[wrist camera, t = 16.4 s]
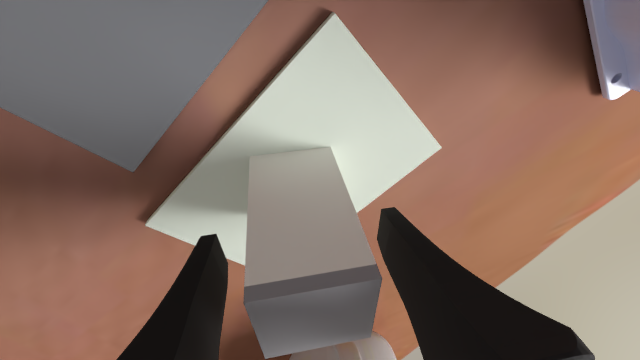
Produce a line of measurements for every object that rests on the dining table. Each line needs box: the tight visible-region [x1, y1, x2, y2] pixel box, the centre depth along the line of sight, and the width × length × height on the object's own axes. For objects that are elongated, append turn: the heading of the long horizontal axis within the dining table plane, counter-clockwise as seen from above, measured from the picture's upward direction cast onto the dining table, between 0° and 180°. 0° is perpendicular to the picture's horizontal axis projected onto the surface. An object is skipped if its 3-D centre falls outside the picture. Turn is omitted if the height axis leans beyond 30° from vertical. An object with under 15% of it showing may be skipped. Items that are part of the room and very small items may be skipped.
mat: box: [145, 12, 442, 265], centre depth 15 cm, size 9×14×1 cm, turn 134°
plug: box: [244, 147, 382, 359], centre depth 12 cm, size 4×4×8 cm
